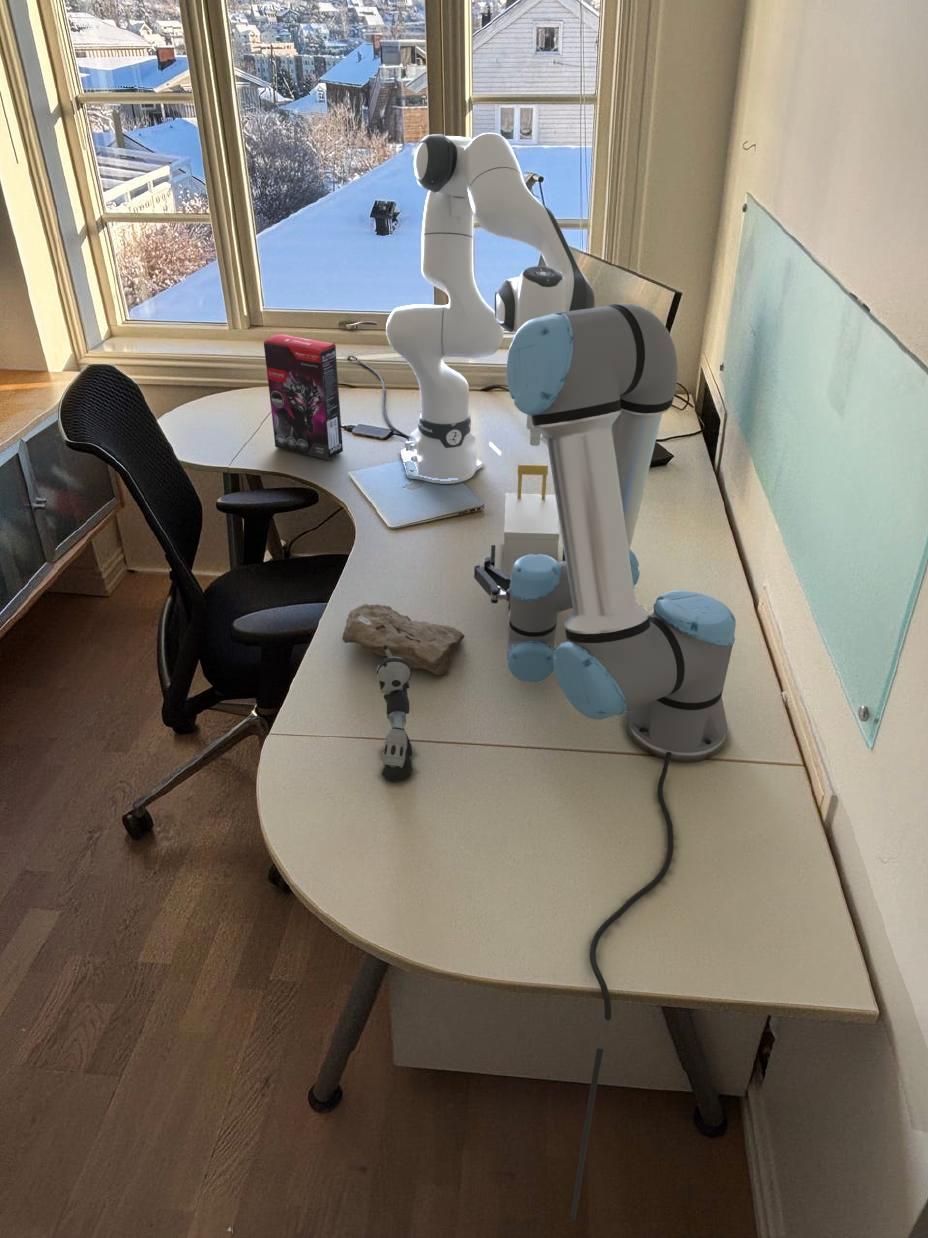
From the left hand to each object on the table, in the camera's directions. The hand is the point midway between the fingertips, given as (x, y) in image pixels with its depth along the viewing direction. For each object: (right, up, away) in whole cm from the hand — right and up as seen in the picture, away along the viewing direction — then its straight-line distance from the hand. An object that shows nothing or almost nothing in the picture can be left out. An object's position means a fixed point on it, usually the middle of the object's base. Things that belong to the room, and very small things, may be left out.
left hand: (534, 434), depth 176 cm
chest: (-1, -25, +9) cm, 26 cm away
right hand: (-1, -23, 0) cm, 23 cm away
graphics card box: (-52, +7, +55) cm, 76 cm away
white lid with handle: (0, -16, +3) cm, 16 cm away
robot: (-23, -57, -39) cm, 73 cm away
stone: (-25, -41, -16) cm, 50 cm away
